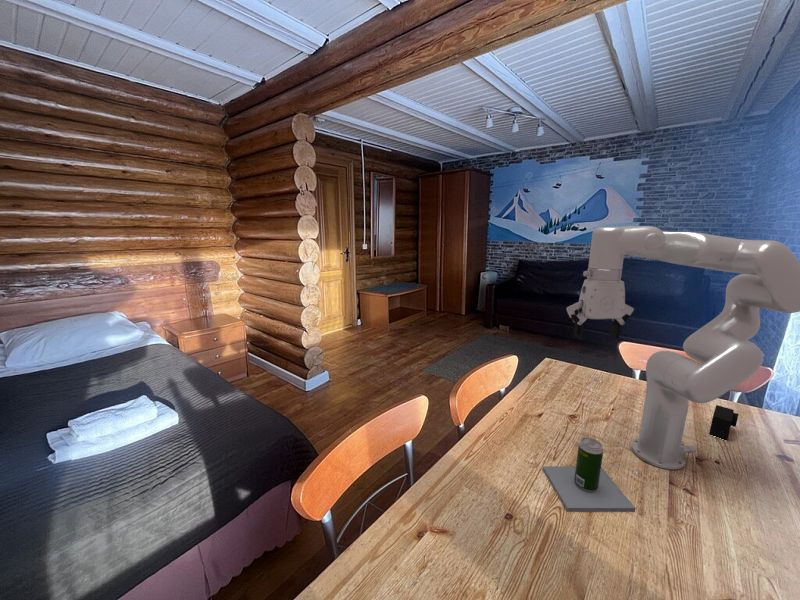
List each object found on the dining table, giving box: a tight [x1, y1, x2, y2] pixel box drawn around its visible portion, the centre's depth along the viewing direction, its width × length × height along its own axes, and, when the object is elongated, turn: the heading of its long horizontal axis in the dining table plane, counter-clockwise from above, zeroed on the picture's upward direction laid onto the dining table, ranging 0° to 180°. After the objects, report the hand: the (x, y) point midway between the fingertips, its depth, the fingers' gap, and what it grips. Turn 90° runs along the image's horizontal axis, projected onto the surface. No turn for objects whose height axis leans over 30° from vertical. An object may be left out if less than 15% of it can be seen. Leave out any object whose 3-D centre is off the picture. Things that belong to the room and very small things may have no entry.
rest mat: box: [542, 465, 636, 513], centre depth 85 cm, size 16×14×1 cm
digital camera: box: [708, 404, 739, 441], centre depth 107 cm, size 10×5×7 cm, turn 132°
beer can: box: [574, 436, 604, 492], centre depth 83 cm, size 5×5×12 cm
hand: (596, 337), depth 90 cm, fingers open, 9 cm apart
